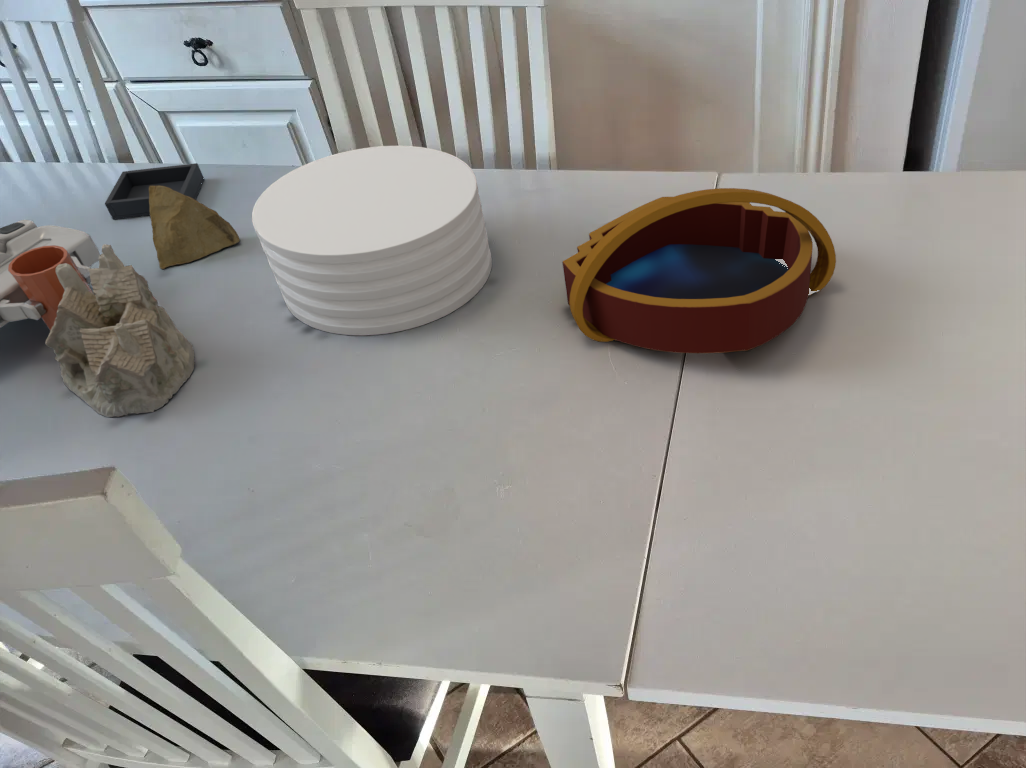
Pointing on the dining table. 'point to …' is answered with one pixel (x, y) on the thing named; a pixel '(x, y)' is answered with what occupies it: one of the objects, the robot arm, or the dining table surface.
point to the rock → (185, 227)
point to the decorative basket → (698, 272)
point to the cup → (43, 277)
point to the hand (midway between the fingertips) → (66, 293)
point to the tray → (134, 188)
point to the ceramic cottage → (117, 340)
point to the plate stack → (375, 239)
